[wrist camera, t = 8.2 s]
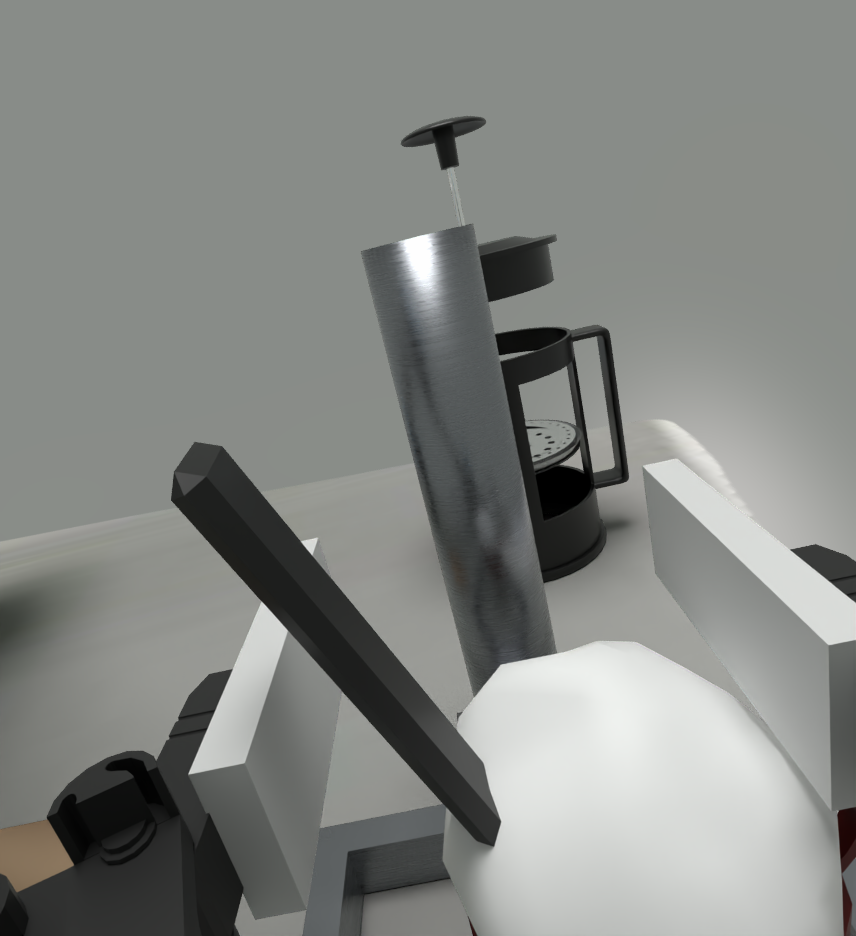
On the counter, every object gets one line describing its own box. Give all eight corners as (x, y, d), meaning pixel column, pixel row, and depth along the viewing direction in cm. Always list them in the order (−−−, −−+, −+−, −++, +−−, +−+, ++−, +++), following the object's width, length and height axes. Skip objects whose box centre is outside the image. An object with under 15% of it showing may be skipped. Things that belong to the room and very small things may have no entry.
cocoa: (838, 857, 14) (862, 297, 10) (1026, 1304, 8) (1242, 377, 4) (422, 829, 16) (319, 372, 13) (336, 1155, 10) (101, 487, 7)
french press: (440, 604, 34) (318, 135, 26) (437, 529, 42) (345, 163, 35) (660, 559, 33) (598, 61, 25) (610, 492, 42) (553, 109, 34)
